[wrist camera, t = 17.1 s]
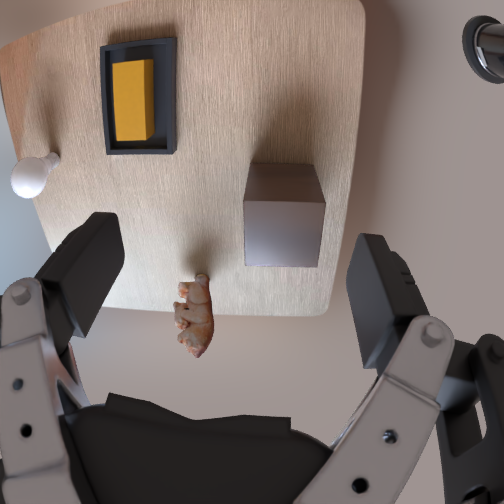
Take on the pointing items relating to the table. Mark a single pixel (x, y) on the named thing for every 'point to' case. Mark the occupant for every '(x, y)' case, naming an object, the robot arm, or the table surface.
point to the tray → (163, 94)
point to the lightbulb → (32, 174)
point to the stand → (283, 215)
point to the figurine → (195, 315)
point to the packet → (134, 99)
